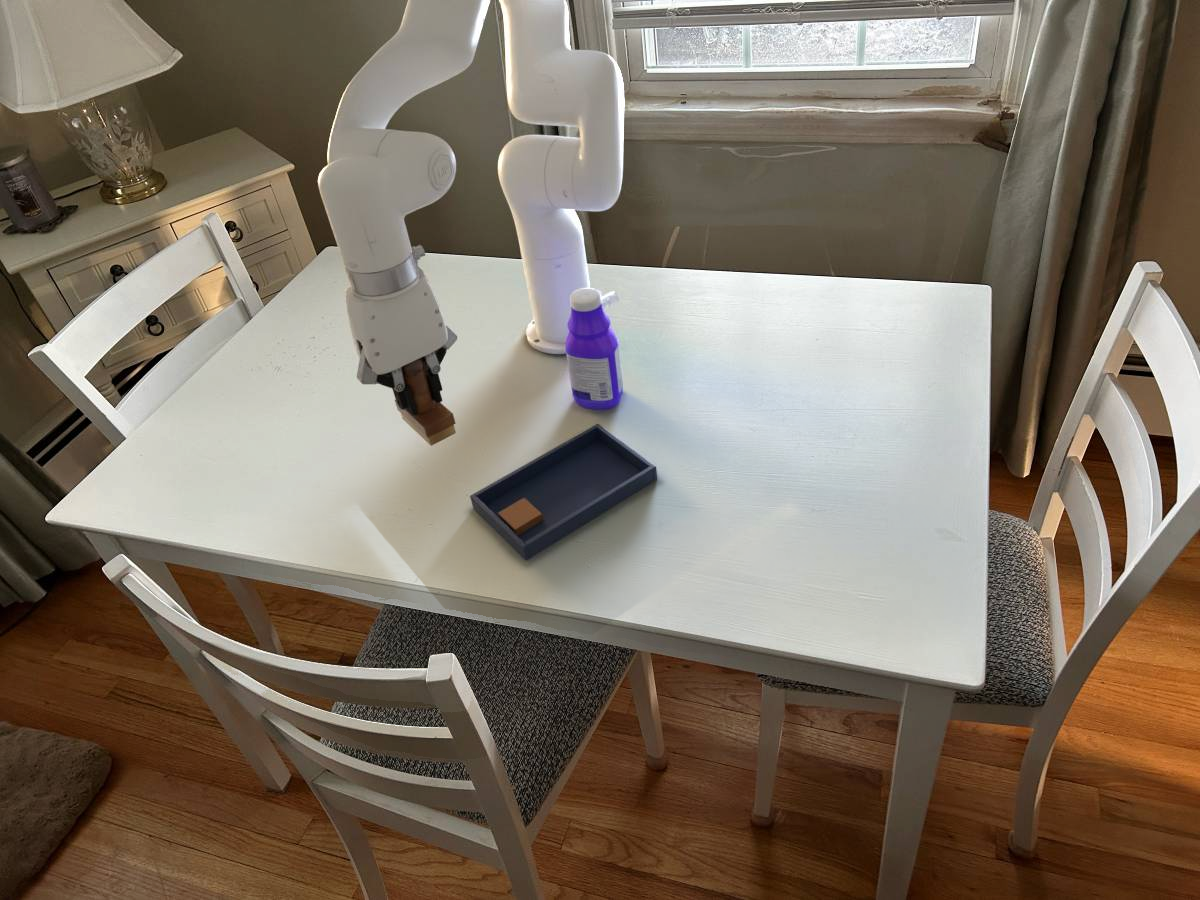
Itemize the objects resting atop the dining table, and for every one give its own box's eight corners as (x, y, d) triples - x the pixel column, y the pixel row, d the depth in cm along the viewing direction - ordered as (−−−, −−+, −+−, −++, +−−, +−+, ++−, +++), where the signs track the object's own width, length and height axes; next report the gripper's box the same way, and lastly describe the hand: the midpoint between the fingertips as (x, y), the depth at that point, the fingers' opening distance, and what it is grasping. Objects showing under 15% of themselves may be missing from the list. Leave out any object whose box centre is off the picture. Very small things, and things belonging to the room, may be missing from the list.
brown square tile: (525, 504, 114) (524, 497, 113) (543, 520, 111) (542, 513, 110) (499, 519, 112) (497, 512, 111) (516, 536, 110) (515, 529, 109)
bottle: (629, 391, 130) (617, 285, 119) (617, 415, 126) (603, 308, 115) (582, 386, 132) (565, 281, 121) (569, 409, 128) (550, 304, 117)
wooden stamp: (427, 405, 117) (406, 333, 110) (458, 433, 112) (438, 359, 105) (400, 419, 116) (377, 347, 108) (430, 447, 110) (408, 374, 103)
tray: (600, 438, 123) (597, 423, 121) (657, 482, 115) (656, 466, 113) (474, 511, 115) (469, 495, 113) (526, 563, 107) (522, 547, 105)
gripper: (430, 234, 106) (463, 364, 117) (301, 288, 99) (349, 420, 111) (462, 255, 101) (493, 388, 112) (328, 313, 94) (376, 448, 106)
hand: (421, 402), depth 111 cm, fingers closed on wooden stamp, 2 cm apart
